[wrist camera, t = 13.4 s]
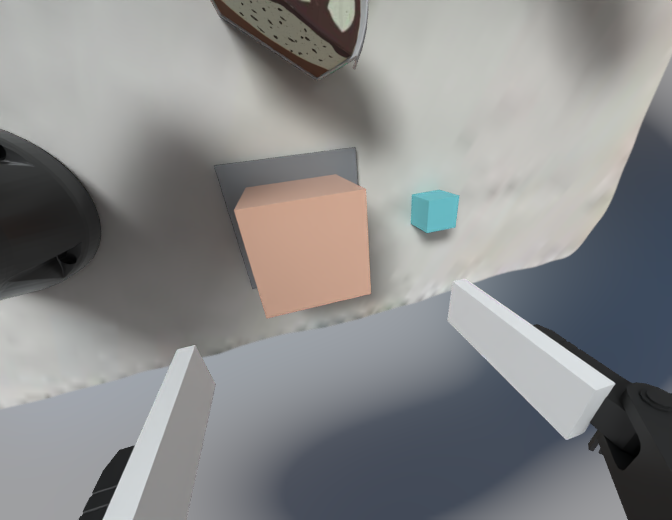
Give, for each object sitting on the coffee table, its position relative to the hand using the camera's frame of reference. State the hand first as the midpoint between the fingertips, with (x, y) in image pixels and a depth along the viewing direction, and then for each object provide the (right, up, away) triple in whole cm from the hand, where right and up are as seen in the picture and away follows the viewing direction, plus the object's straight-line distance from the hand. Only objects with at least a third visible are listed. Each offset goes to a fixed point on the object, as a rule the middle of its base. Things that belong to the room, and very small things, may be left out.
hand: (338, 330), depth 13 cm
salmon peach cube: (-5, +8, +17) cm, 19 cm away
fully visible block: (+12, +11, +21) cm, 26 cm away
